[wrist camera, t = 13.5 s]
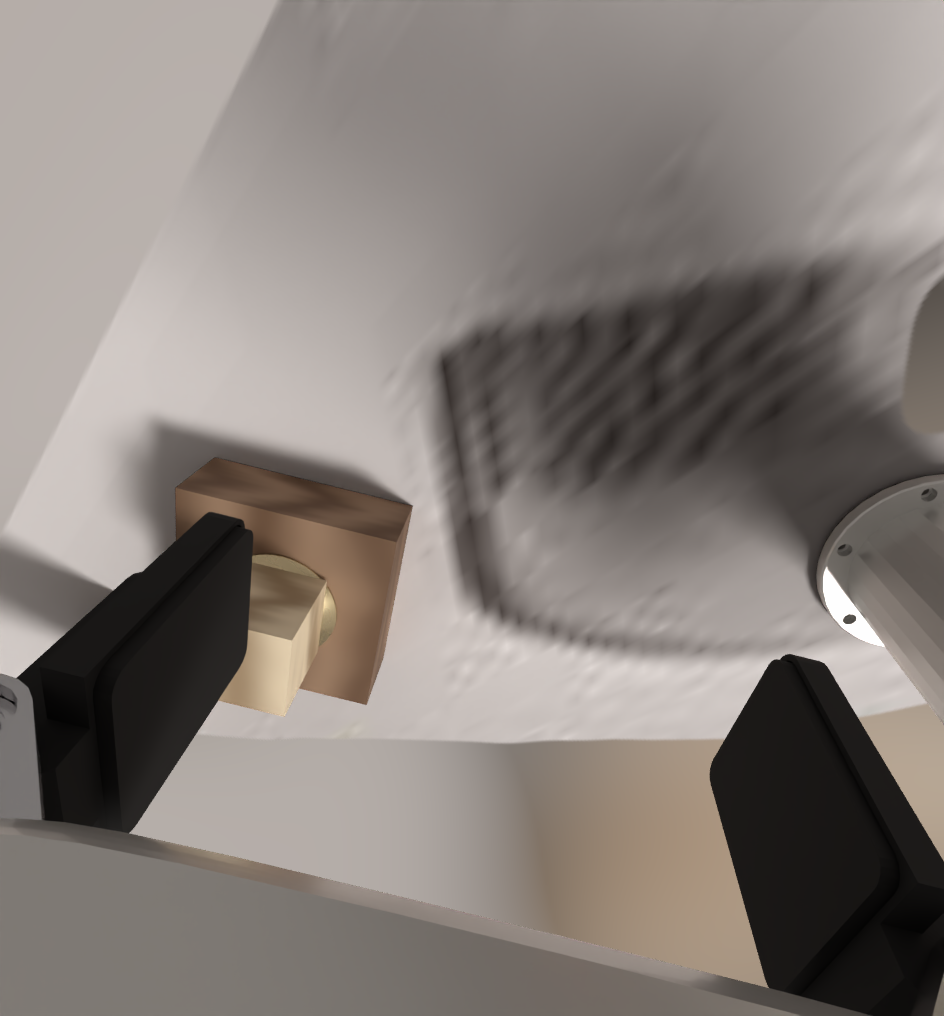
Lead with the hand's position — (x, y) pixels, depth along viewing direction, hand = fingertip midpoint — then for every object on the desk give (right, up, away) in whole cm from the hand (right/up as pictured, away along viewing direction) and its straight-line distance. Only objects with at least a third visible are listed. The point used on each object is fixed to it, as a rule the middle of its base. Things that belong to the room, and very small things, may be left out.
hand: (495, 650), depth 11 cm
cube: (-13, -4, +30) cm, 33 cm away
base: (-13, -2, +34) cm, 37 cm away
